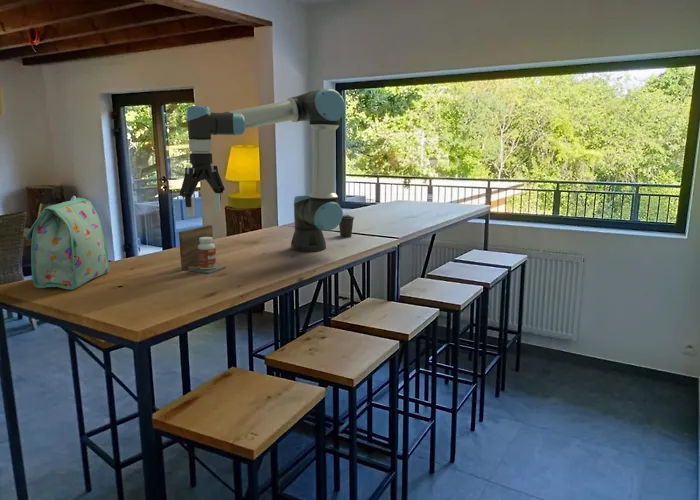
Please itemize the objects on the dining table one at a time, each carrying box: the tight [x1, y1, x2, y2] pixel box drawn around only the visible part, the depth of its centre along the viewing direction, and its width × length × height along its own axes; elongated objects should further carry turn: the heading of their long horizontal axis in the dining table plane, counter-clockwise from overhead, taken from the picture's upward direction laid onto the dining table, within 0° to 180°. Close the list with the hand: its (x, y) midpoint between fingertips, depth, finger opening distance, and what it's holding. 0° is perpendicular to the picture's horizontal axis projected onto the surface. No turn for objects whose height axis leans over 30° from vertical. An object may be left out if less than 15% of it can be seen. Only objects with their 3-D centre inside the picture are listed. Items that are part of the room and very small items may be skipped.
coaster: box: [188, 264, 226, 275], centre depth 184 cm, size 9×9×1 cm
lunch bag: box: [25, 197, 111, 290], centre depth 166 cm, size 23×16×27 cm
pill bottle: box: [198, 237, 217, 270], centre depth 182 cm, size 6×6×11 cm
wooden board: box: [178, 224, 214, 271], centre depth 188 cm, size 4×16×14 cm, turn 155°
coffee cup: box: [338, 214, 355, 238], centre depth 244 cm, size 8×8×10 cm
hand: (204, 213), depth 179 cm, fingers open, 13 cm apart
